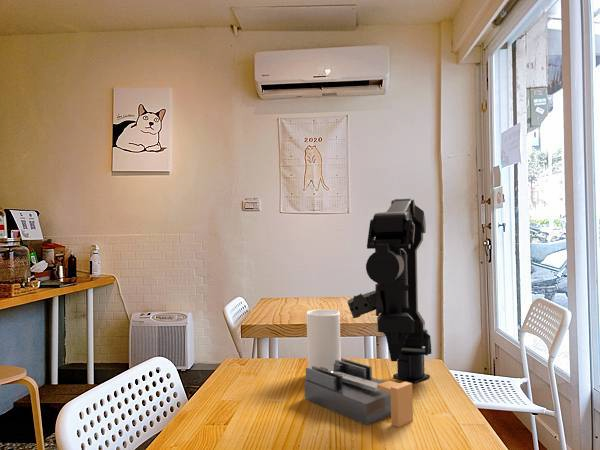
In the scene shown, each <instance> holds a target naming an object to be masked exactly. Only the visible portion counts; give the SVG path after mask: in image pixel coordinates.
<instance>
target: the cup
mask: <svg viewBox="0 0 600 450" xmlns="http://www.w3.org/2000/svg"><path fill="white" fill-rule="evenodd" d="M340 314H341V313H340V311H339V310H336V309H335V310H334V309H325V308H322V309H311V310H308V311H307V312H306V337H307V339H306V340H307V341H306V344H307V346H306V347H307V348H306V349H307V368H310V369H312V366H315V367H318V368H320V367H323V368H326V369H328V371H333V370H334V363H335V360H340V361H341V356H342V355H341V354H342V352H341V350H342V349H341V319H340V318H341V315H340Z"/></svg>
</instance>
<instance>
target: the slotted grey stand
mask: <svg viewBox="0 0 600 450" xmlns="http://www.w3.org/2000/svg"><path fill="white" fill-rule="evenodd" d="M372 368H373V367H372V366H370V365H367V364H364V363H359V362H357V361H353V360H351V359H346V358H343V357H342V358H341V361H340V360H335V363H334V370H336V371H338V372H341V373H345V374H348V375H352V376H355V377H359V378H362V379H365V380H369V381H372V382H376V383H379V384H381V383H383V382H385V381H384V380H381V379H378V378H375V377H373V374H372V373H373V370H372ZM303 381H304V399H305V400H307V401H309V402H311V403H313V404H316V405H318V406H320V407H322V408H325V409H327V410H329V411H332V412H334V413H337V414H338V415H341V416H344V417H346V418H347V419H350V420H352V421H354V422H357V423H359V424H362V425H364V426H366V427H367V426H369V425H372V424H374V423H376V422H379V421H381V420H384V419H386V418H388V417H390V416H391V393H390V392H387V391H384V390H379V391H376V392H374V391H371V390H367V389H364V388H361V387H358V386H355V385H352V384H348V383H345V382H343V376H342V375H339V374H336V373H333V372H330V371H328V369H326V368H323V367H320V368H318V367H315V366H312V369H310V368H308V367H306V368H305V379H304V380H303Z"/></svg>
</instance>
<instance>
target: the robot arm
mask: <svg viewBox="0 0 600 450" xmlns="http://www.w3.org/2000/svg"><path fill="white" fill-rule="evenodd" d="M369 221H370V222H369V226H368V227H369V228H368V235H367V240H366V241H367V242H366V249H367V250H369V249H370V250H372V249H373V250H374V252H373V253H371V254H370V255H369V257H368V259H367V260H366V264H365V270H366V274H367V276H368V278H369V279H370V280H371V281H372V282H374V283H376V284H375V285H374V286H375V289H374V290H373V291H369V292H366V293H364V294H362V293H359V294H357V295H353V297H351V298H350V299H348V300H347V305H348V308H349V312H350V313H351V315H352V318H353V319H358V318H360V317H361V316H363V315H365V314H368V313H370V312H371V313H372V312H373V311H375V316H376V317H377V319H376V323H377V324H376V325H377V333H382V334H384V335H385V340H386V343H387V349H388V353H389V357H390V361H391V362H396V364H397V368H396V369H397V370H396V371H397V372H396V373H394V374H393V375H392V377H393V378H396V379H399V380H402V381H404V382H405V381H406V382H409V383H412V384H415V383H418V382H421V381H425V380H427V379H428V378H431V377H430V376H431V375H430V374H428V373H425V356H427V357H428V356H429V355H432V354H433V353H432V339H431V335H430V334H429V332H428V329H426V324H425V323H426V322H425V320H424V318H423V317H422V315H421V313H420V312H419V295H418V294H419V293H418V249H419V247H420V246H421V245H422V243H423V241H424V234H426V230H427V229H426V228H427V227H426V226H427V224H426V223H427V222H426V216H425V211H424V210H423V209H421V208H420V207H418V206H417V205H416V203H415V199H412V198H395V199H394V200H391V203H390V206H389V208H388V209H387V210H386V211H384V212H377V213H374V214H373V216H372V219H370V220H369Z"/></svg>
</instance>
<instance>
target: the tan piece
mask: <svg viewBox="0 0 600 450" xmlns="http://www.w3.org/2000/svg"><path fill="white" fill-rule="evenodd" d="M377 388H378V389H381V390H384V391H387V392H390V393H391V417H390V419H391V420H390V422H391V423H390V425H392V426H394V427H396V428H400V427H402V426H404V425H406V424H409V423H411V422H413V421H414V407H413V403H414V402H413V401H414V400H413V383H412V382H409V381H405V380H404V381H402V382H400V383H399V382H396V381H392V380H386V381H384V382H383V383H381V384H378V385H377Z"/></svg>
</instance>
